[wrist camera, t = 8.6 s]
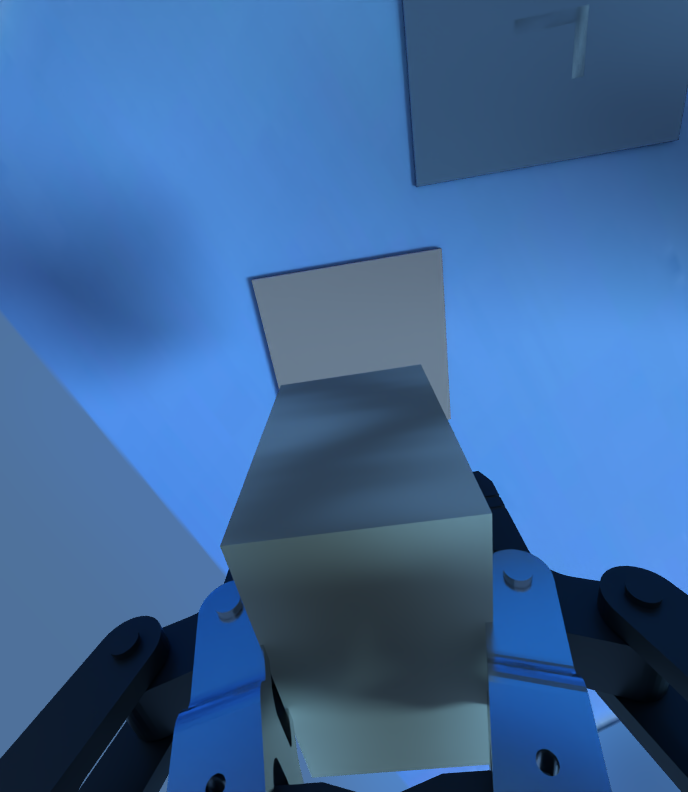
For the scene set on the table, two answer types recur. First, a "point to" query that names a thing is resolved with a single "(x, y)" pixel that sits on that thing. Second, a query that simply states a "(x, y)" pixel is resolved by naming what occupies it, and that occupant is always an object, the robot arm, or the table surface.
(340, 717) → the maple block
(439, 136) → the board
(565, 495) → the table surface
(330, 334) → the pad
